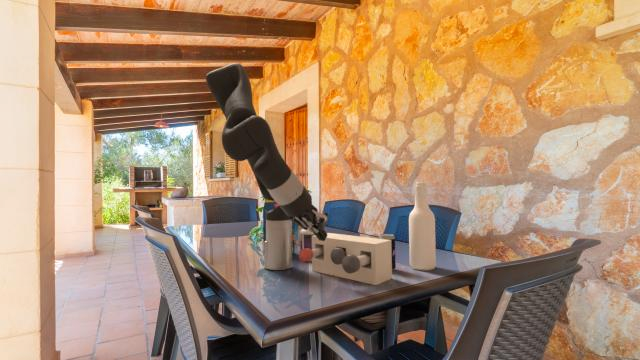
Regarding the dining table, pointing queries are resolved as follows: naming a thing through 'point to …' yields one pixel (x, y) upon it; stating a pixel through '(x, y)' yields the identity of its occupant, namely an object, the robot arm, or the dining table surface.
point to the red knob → (310, 253)
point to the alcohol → (422, 232)
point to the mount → (355, 246)
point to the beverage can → (392, 238)
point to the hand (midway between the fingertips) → (323, 238)
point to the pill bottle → (306, 239)
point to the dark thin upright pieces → (267, 207)
